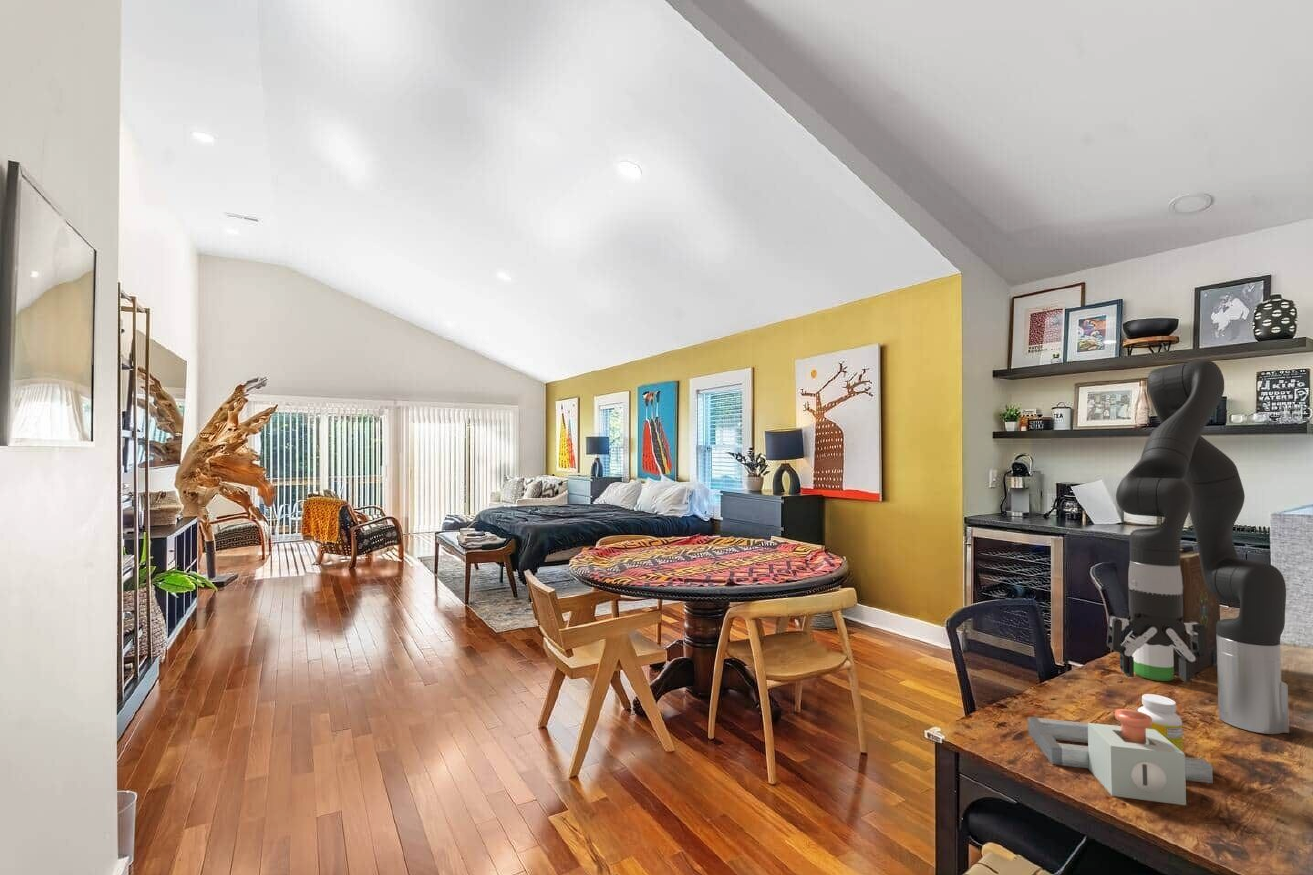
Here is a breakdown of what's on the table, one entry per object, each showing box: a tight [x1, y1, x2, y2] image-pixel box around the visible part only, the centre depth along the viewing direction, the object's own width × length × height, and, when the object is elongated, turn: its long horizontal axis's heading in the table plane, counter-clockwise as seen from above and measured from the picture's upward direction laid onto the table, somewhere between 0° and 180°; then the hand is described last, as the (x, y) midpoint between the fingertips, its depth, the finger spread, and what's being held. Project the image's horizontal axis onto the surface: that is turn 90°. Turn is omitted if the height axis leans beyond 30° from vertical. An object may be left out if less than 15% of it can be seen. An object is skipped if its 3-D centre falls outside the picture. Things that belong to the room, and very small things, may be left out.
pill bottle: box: [1137, 693, 1184, 753], centre depth 106 cm, size 6×6×11 cm
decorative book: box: [1173, 543, 1221, 676], centre depth 153 cm, size 23×7×30 cm, turn 122°
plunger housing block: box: [1087, 722, 1187, 806], centre depth 98 cm, size 10×9×8 cm
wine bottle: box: [1132, 643, 1175, 682], centre depth 146 cm, size 8×8×30 cm
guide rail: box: [1027, 716, 1214, 784], centre depth 108 cm, size 24×12×3 cm, turn 75°
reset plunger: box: [1114, 708, 1152, 744], centre depth 98 cm, size 5×5×4 cm
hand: (1156, 677), depth 106 cm, fingers open, 8 cm apart
